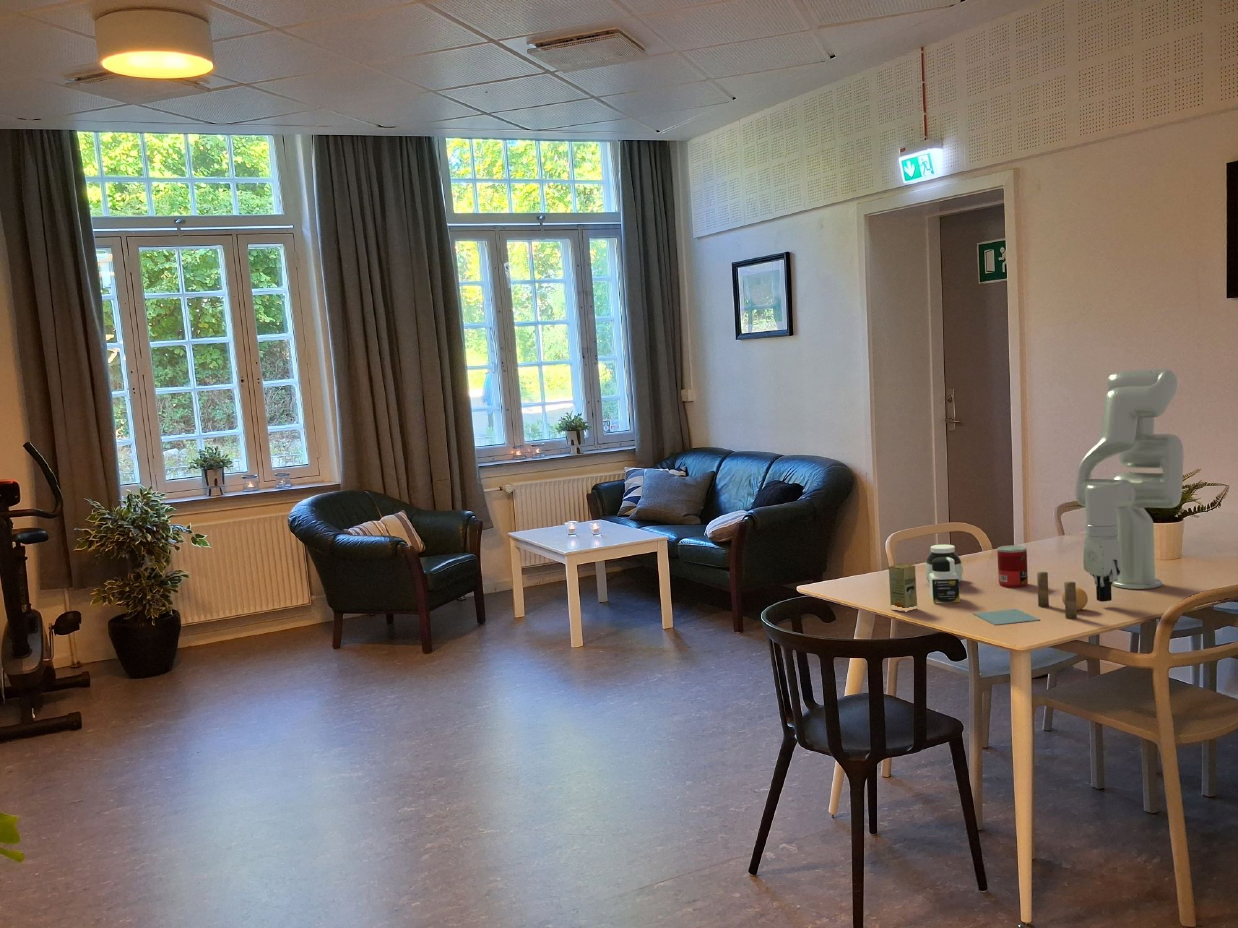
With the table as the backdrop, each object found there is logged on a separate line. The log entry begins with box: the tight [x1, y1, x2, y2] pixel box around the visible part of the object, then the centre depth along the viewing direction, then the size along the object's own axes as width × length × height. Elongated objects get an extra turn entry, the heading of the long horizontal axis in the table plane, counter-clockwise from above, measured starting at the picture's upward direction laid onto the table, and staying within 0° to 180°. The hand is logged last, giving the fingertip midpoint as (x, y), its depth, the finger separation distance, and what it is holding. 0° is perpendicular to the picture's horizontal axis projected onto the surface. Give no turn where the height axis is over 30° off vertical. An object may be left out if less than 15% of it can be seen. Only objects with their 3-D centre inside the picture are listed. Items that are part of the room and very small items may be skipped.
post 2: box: [1063, 581, 1078, 620], centre depth 257 cm, size 3×3×9 cm
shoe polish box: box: [888, 563, 918, 608], centre depth 277 cm, size 5×5×12 cm
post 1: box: [1036, 571, 1050, 608], centre depth 270 cm, size 3×3×9 cm
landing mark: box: [972, 608, 1041, 626], centre depth 262 cm, size 12×12×1 cm
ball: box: [1062, 586, 1088, 611], centre depth 264 cm, size 6×6×6 cm
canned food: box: [997, 544, 1029, 589], centre depth 296 cm, size 8×8×11 cm
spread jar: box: [925, 544, 964, 584], centre depth 304 cm, size 12×11×12 cm
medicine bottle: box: [929, 557, 961, 603], centre depth 284 cm, size 7×7×12 cm
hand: (1104, 600), depth 265 cm, fingers closed
